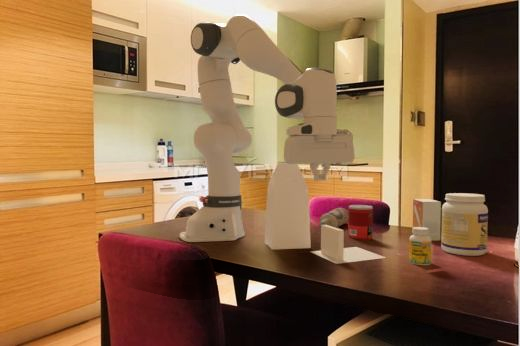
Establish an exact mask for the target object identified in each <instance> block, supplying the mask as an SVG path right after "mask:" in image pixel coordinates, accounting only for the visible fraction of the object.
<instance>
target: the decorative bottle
mask: <svg viewBox="0 0 520 346" xmlns="http://www.w3.org/2000/svg"><path fill="white" fill-rule="evenodd" d="M318 223H319V224H318V227H319V229H321V225H329V226H332V227H335V228H339V227H341V226H342V225H344V224H346V223H347V224H348V210H347V209H346V208H343V207H337V208H334V209H331V210H330V211H328V212H326V213H324V214H322V215H321V216H320V218H319V221H318Z"/></svg>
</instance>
